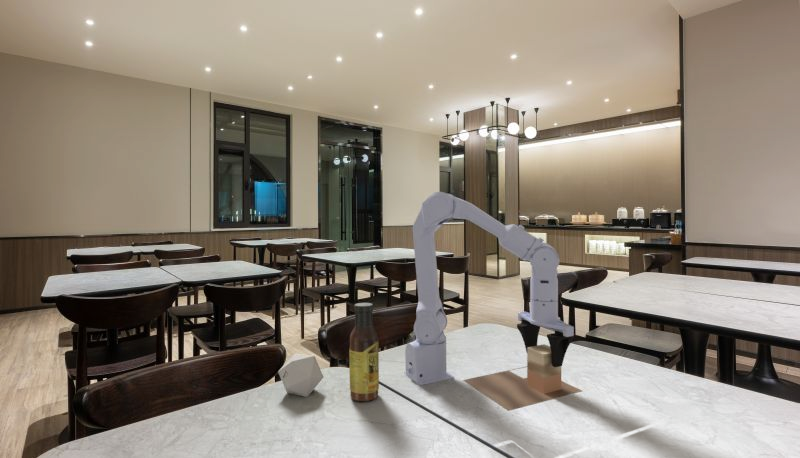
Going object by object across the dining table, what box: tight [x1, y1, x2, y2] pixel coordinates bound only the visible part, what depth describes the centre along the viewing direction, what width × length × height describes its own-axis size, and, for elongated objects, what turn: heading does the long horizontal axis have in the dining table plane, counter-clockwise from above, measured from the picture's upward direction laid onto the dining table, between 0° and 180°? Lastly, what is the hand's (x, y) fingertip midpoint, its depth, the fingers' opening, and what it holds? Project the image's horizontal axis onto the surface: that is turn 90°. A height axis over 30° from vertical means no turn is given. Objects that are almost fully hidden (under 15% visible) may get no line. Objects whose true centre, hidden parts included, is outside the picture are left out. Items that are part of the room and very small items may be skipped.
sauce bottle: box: [348, 302, 380, 402], centre depth 85 cm, size 6×6×20 cm
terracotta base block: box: [527, 370, 562, 394], centre depth 88 cm, size 5×5×4 cm
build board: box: [462, 365, 583, 412], centre depth 89 cm, size 20×16×1 cm
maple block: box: [526, 343, 562, 378], centre depth 88 cm, size 5×5×5 cm
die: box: [277, 352, 324, 398], centre depth 88 cm, size 8×9×10 cm
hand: (544, 360), depth 88 cm, fingers open, 7 cm apart
